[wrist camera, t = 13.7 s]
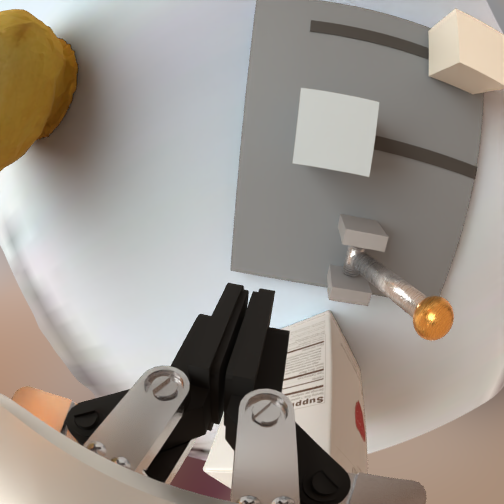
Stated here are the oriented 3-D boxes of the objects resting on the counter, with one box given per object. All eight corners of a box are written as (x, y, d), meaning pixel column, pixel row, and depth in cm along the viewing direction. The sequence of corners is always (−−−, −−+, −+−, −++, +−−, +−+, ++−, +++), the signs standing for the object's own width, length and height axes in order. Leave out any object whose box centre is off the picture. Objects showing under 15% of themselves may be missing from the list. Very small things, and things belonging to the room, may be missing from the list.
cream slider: (428, 30, 12) (455, 8, 8) (472, 50, 12) (505, 35, 7) (428, 76, 14) (459, 62, 9) (472, 94, 13) (509, 88, 9)
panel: (260, 4, 15) (246, -25, 11) (474, 55, 13) (504, 43, 8) (235, 262, 24) (217, 292, 20) (430, 295, 22) (449, 327, 17)
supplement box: (362, 369, 26) (371, 500, 13) (287, 392, 30) (265, 510, 16) (331, 306, 24) (333, 463, 11) (246, 337, 27) (198, 472, 14)
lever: (339, 238, 19) (446, 316, 11) (365, 237, 19) (467, 306, 11) (332, 270, 20) (426, 354, 12) (357, 267, 20) (449, 342, 12)
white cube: (303, 100, 17) (301, 87, 12) (362, 110, 16) (379, 102, 12) (296, 157, 18) (292, 163, 14) (354, 167, 18) (369, 177, 13)
